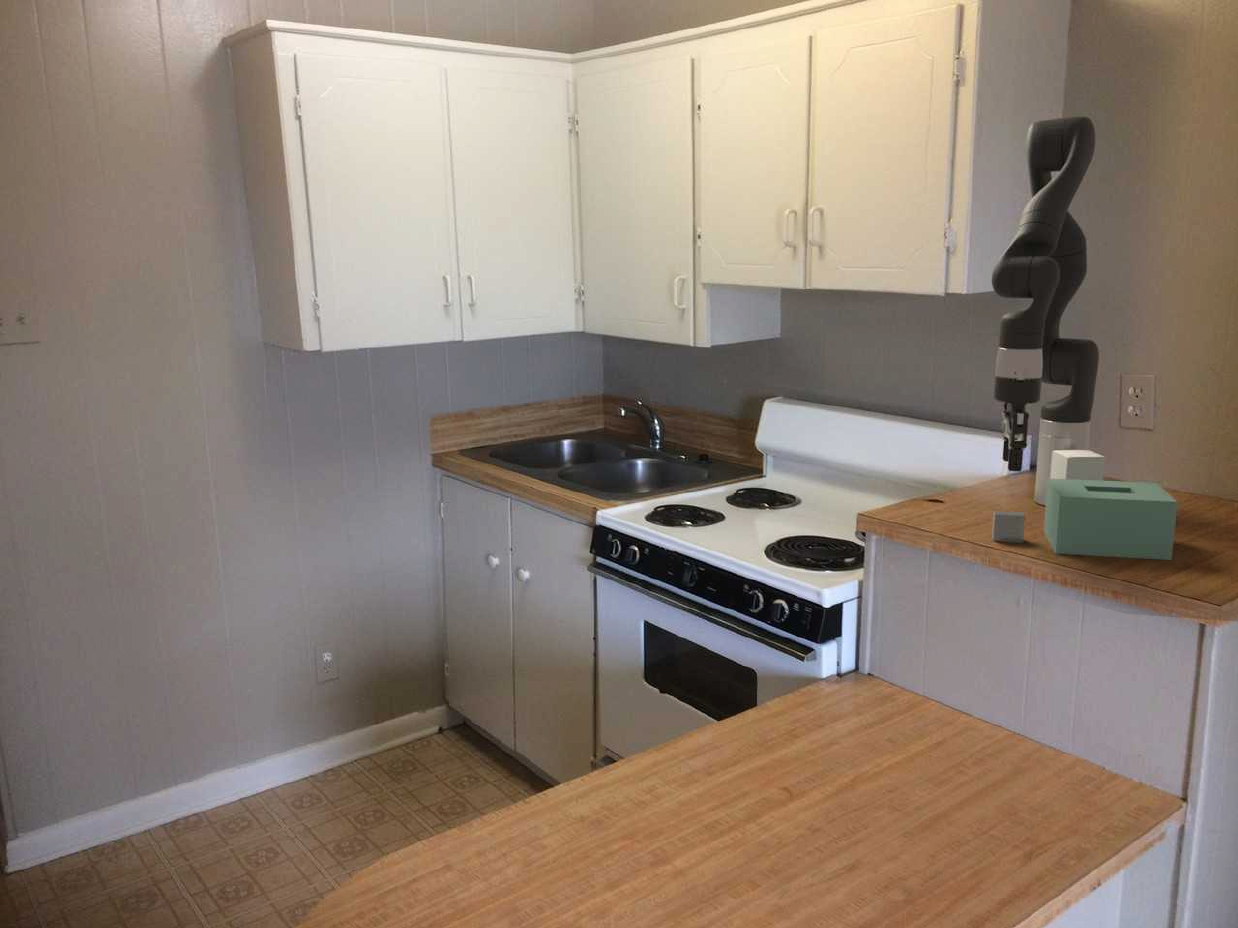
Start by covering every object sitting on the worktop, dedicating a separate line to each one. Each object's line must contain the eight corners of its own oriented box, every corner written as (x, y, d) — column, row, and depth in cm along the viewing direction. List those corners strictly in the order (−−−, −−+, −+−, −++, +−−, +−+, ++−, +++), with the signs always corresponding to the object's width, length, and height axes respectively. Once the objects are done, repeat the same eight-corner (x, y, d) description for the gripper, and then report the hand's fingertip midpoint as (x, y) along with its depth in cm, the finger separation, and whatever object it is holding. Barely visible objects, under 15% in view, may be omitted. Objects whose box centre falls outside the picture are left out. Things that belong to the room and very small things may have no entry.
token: (991, 537, 186) (993, 510, 185) (1021, 539, 184) (1023, 512, 183) (993, 541, 183) (995, 514, 182) (1023, 543, 182) (1025, 515, 181)
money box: (1043, 531, 189) (1047, 478, 187) (1150, 537, 184) (1156, 482, 182) (1055, 553, 176) (1060, 496, 173) (1171, 560, 171) (1177, 501, 169)
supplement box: (1101, 522, 195) (1106, 456, 192) (1061, 522, 195) (1066, 457, 192) (1084, 512, 202) (1089, 449, 199) (1046, 512, 202) (1051, 449, 200)
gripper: (991, 369, 185) (985, 457, 189) (999, 378, 172) (993, 473, 175) (1036, 370, 184) (1029, 459, 187) (1047, 379, 170) (1040, 475, 173)
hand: (1011, 465), depth 181 cm, fingers open, 8 cm apart
